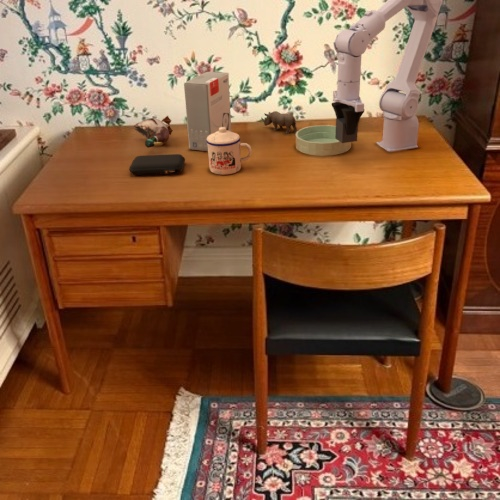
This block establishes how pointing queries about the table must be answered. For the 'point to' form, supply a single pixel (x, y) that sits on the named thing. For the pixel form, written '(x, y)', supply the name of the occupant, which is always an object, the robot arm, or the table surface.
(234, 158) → the teacup with lid
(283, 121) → the rhino figurine
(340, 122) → the block
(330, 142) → the bowl
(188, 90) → the hard drive box
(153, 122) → the decorative duck model
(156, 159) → the carrying case
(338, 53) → the robot arm
